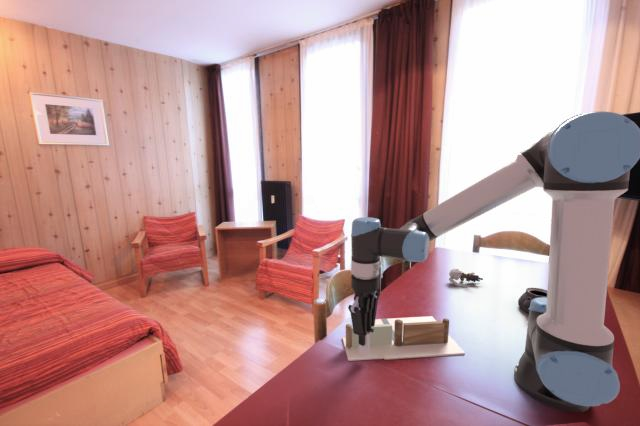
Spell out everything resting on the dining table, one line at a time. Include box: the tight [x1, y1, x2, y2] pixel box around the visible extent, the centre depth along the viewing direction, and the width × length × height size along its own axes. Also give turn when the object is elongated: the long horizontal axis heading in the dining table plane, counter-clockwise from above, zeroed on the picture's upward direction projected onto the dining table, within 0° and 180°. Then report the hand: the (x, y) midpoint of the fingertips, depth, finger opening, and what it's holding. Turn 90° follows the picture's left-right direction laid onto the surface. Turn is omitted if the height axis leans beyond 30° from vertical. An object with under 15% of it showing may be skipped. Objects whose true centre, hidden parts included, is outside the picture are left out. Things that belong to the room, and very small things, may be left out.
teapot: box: [517, 287, 548, 313], centre depth 106 cm, size 19×15×10 cm
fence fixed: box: [394, 318, 450, 347], centre depth 91 cm, size 2×17×8 cm, turn 95°
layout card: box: [341, 315, 466, 362], centre depth 95 cm, size 21×34×1 cm, turn 95°
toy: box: [448, 268, 484, 288], centre depth 134 cm, size 11×8×15 cm
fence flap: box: [345, 323, 392, 348], centre depth 89 cm, size 14×2×7 cm, turn 95°
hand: (364, 353), depth 84 cm, fingers closed
